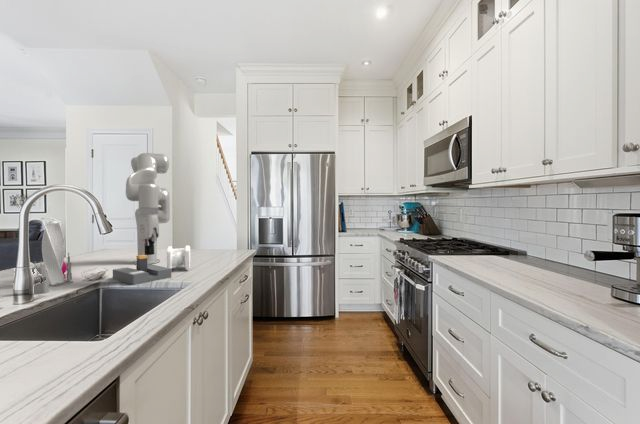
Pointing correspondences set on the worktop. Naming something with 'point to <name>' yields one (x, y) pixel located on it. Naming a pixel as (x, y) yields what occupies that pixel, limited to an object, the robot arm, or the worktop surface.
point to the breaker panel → (141, 274)
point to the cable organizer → (178, 257)
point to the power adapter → (43, 286)
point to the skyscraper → (55, 253)
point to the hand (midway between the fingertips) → (149, 254)
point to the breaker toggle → (142, 263)
